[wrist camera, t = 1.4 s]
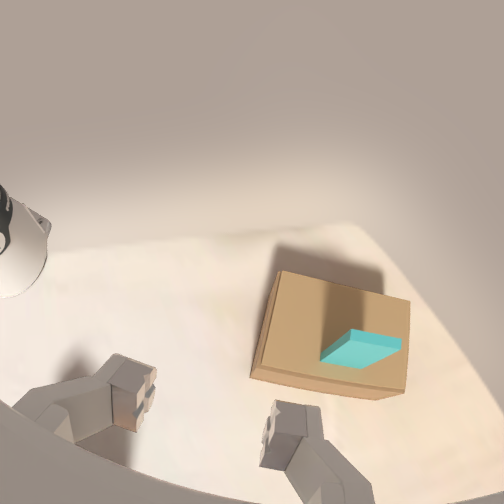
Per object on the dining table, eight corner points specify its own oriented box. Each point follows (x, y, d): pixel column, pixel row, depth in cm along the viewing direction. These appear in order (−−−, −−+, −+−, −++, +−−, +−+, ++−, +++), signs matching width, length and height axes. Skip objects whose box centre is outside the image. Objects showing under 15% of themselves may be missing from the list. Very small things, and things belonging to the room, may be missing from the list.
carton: (249, 377, 40) (255, 367, 33) (269, 296, 46) (278, 271, 39) (375, 400, 39) (404, 393, 32) (383, 322, 45) (409, 302, 38)
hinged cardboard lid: (260, 364, 33) (274, 343, 25) (281, 272, 39) (298, 226, 30) (402, 389, 32) (451, 373, 24) (408, 302, 38) (449, 268, 30)
